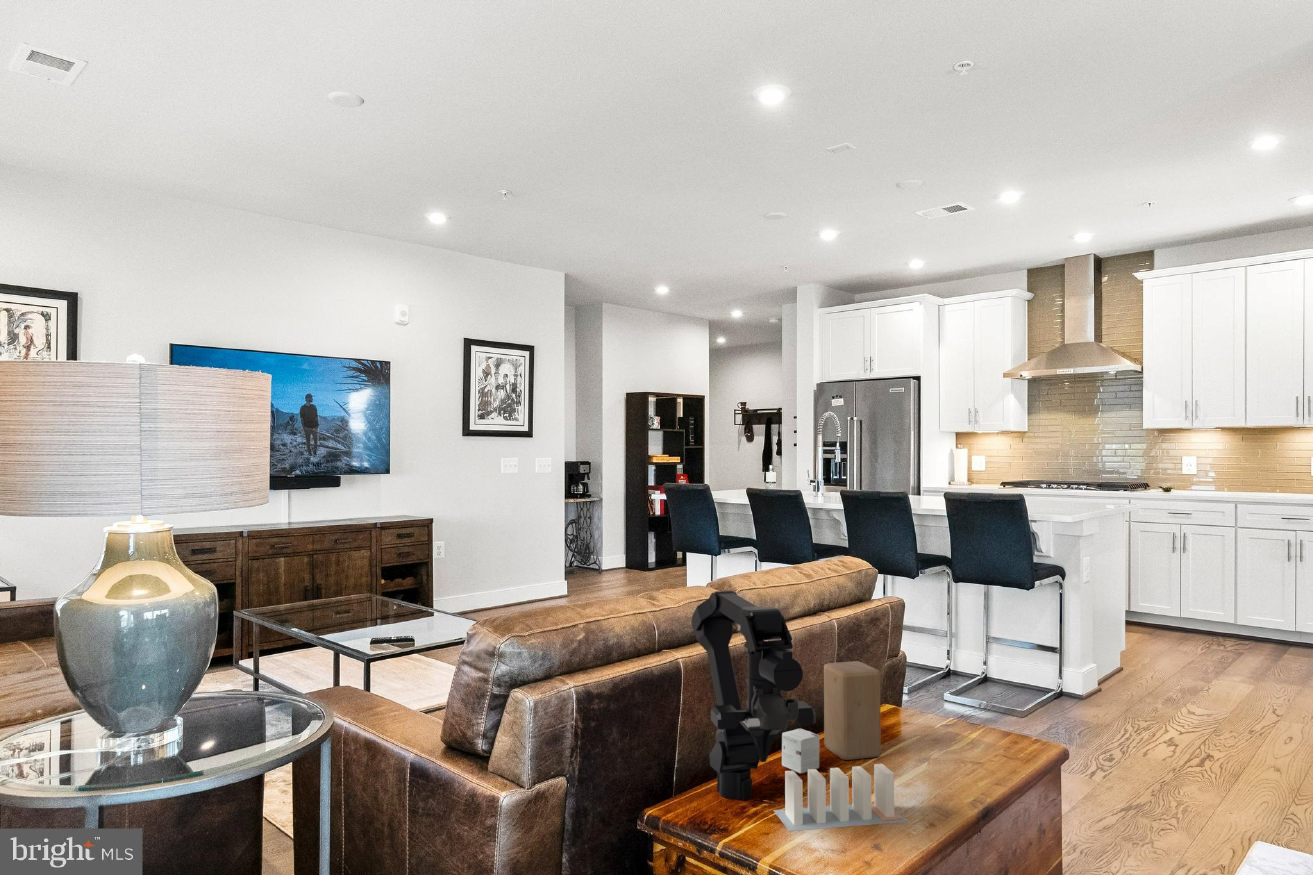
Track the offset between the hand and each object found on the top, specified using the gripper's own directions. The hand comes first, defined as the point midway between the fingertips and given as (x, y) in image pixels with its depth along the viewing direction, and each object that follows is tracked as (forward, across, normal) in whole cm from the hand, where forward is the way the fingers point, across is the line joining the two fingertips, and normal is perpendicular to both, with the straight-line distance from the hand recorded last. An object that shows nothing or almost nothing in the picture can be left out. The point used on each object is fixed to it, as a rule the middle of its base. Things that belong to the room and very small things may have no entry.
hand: (762, 761), depth 152 cm
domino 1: (+11, +6, 0) cm, 12 cm away
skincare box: (+12, +18, +27) cm, 35 cm away
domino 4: (+11, +19, 0) cm, 22 cm away
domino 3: (+11, +15, 0) cm, 19 cm away
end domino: (+11, +24, 0) cm, 26 cm away
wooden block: (+12, +32, +34) cm, 49 cm away
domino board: (+12, +15, 0) cm, 19 cm away
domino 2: (+11, +10, 0) cm, 15 cm away
